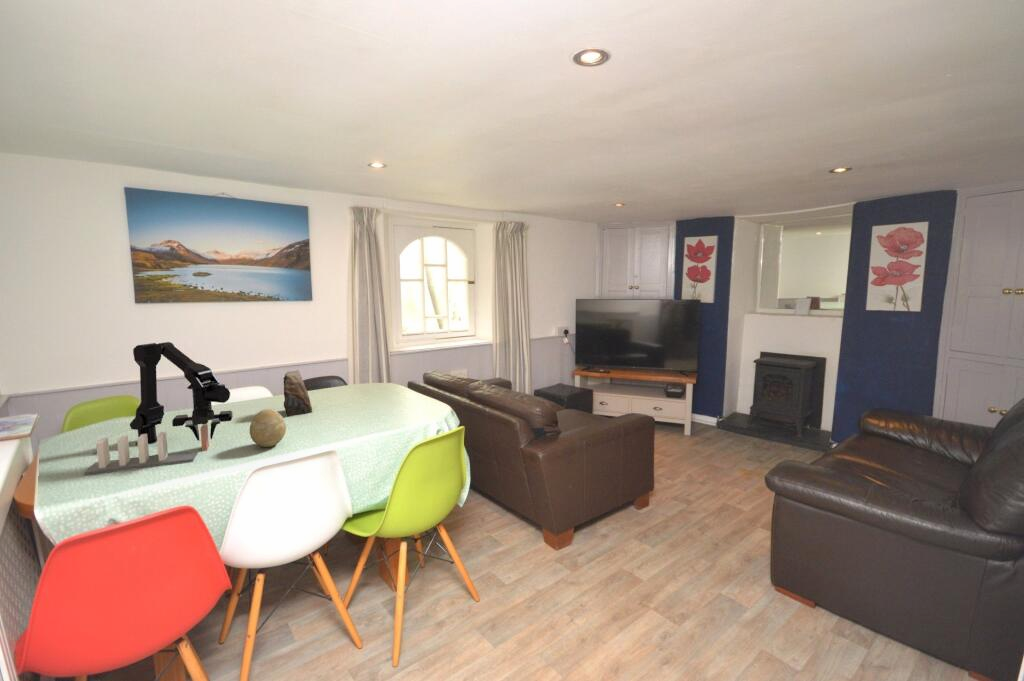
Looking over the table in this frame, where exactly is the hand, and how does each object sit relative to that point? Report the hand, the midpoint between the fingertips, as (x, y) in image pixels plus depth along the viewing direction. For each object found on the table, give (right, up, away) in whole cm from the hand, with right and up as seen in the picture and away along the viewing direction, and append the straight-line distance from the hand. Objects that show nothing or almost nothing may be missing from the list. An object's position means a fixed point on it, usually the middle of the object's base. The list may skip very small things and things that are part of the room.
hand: (205, 439), depth 177 cm
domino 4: (-7, -4, -12) cm, 15 cm away
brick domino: (0, -4, +1) cm, 4 cm away
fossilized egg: (+22, -4, +5) cm, 23 cm away
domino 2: (-17, -5, -17) cm, 24 cm away
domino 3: (-12, -4, -14) cm, 19 cm away
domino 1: (-22, -5, -19) cm, 29 cm away
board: (-12, -5, -14) cm, 19 cm away
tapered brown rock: (+14, +3, +49) cm, 50 cm away
